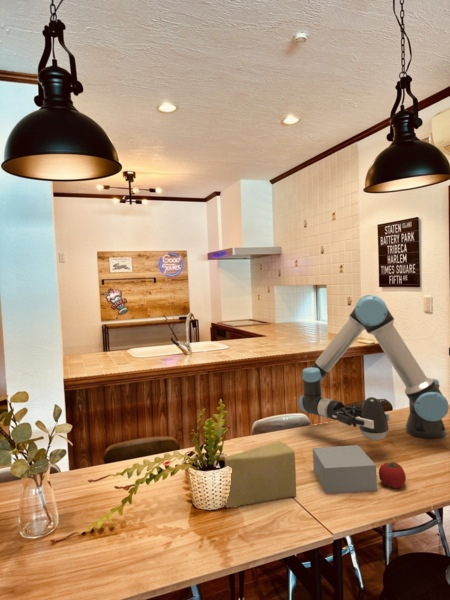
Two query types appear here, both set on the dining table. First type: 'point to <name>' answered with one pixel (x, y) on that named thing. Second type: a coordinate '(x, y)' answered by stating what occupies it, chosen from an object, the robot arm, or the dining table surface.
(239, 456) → the cheese
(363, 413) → the pump dispenser
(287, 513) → the dining table surface
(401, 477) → the tomato
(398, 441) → the dining table surface
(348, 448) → the slate block
